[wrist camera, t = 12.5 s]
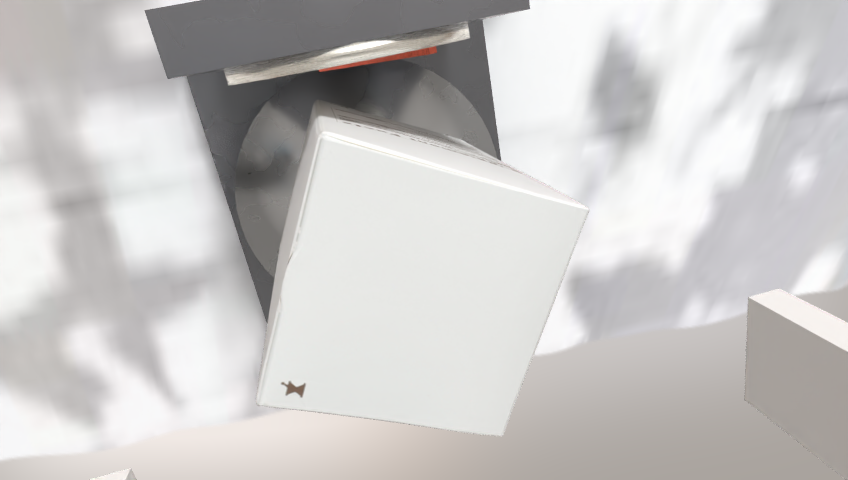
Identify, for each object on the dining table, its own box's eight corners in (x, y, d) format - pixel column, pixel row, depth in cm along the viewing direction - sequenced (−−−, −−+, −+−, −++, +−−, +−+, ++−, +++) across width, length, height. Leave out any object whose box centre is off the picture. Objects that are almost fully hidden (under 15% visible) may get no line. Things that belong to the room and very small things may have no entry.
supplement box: (424, 283, 33) (506, 449, 19) (276, 251, 30) (245, 416, 16) (470, 139, 31) (602, 208, 17) (314, 93, 28) (315, 127, 14)
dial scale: (276, 320, 36) (252, 486, 22) (186, 39, 30) (74, 23, 16) (501, 263, 38) (611, 383, 24) (462, -13, 32) (579, -67, 18)
